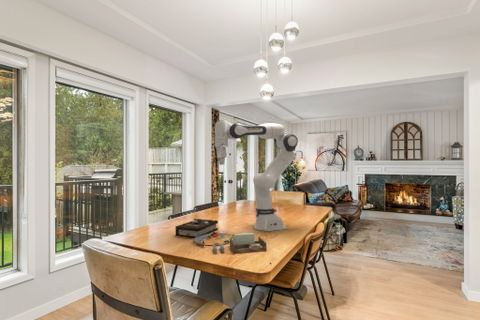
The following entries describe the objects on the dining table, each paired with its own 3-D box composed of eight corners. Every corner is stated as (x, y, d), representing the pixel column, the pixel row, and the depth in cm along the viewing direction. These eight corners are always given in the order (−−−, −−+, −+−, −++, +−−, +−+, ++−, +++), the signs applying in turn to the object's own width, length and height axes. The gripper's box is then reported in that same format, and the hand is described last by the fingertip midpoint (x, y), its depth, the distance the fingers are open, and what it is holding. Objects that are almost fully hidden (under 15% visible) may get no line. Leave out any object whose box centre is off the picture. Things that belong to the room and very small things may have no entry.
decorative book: (171, 225, 174) (198, 217, 201) (171, 237, 174) (198, 227, 201) (196, 228, 166) (221, 219, 193) (197, 241, 166) (221, 229, 193)
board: (253, 245, 150) (253, 232, 150) (254, 246, 148) (254, 233, 148) (234, 247, 147) (234, 234, 147) (234, 248, 146) (234, 235, 146)
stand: (224, 250, 146) (224, 243, 146) (226, 255, 138) (226, 248, 138) (211, 251, 145) (211, 244, 145) (212, 256, 137) (212, 249, 137)
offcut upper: (258, 245, 146) (258, 243, 146) (260, 247, 143) (260, 245, 143) (250, 246, 145) (250, 244, 145) (252, 248, 141) (252, 246, 141)
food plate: (216, 233, 180) (215, 228, 180) (243, 240, 166) (243, 234, 165) (186, 243, 161) (186, 237, 161) (214, 252, 146) (214, 245, 146)
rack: (259, 246, 153) (259, 236, 153) (266, 253, 141) (266, 242, 141) (229, 248, 149) (229, 239, 149) (234, 255, 137) (234, 245, 137)
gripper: (228, 143, 175) (229, 164, 175) (223, 145, 195) (224, 164, 195) (218, 143, 174) (219, 164, 174) (215, 145, 194) (215, 164, 194)
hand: (221, 164), depth 185 cm, fingers open, 8 cm apart
